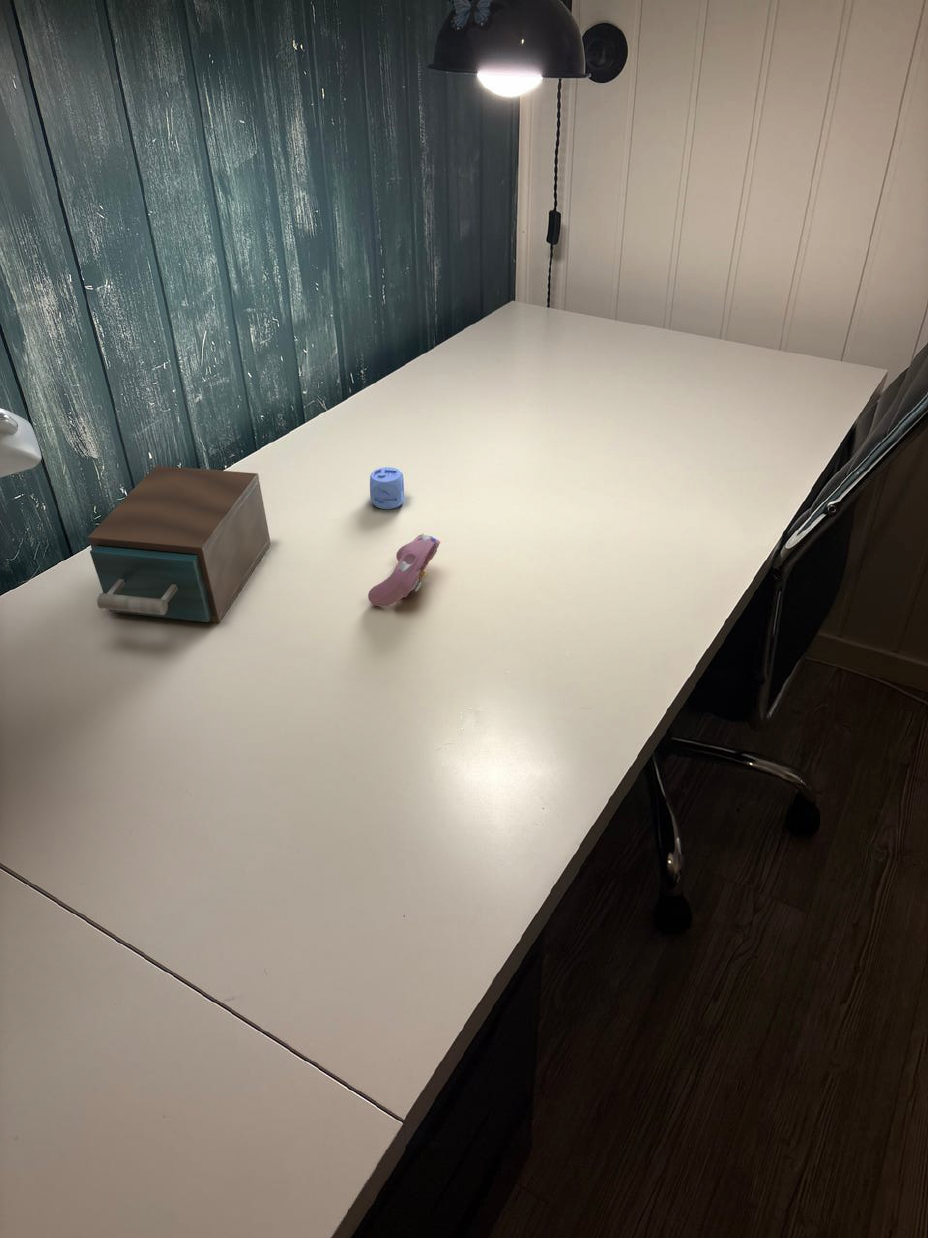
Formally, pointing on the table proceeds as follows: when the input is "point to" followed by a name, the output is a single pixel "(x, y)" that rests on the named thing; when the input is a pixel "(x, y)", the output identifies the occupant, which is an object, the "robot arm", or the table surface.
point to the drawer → (151, 583)
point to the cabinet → (195, 525)
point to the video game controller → (405, 571)
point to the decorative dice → (387, 488)
